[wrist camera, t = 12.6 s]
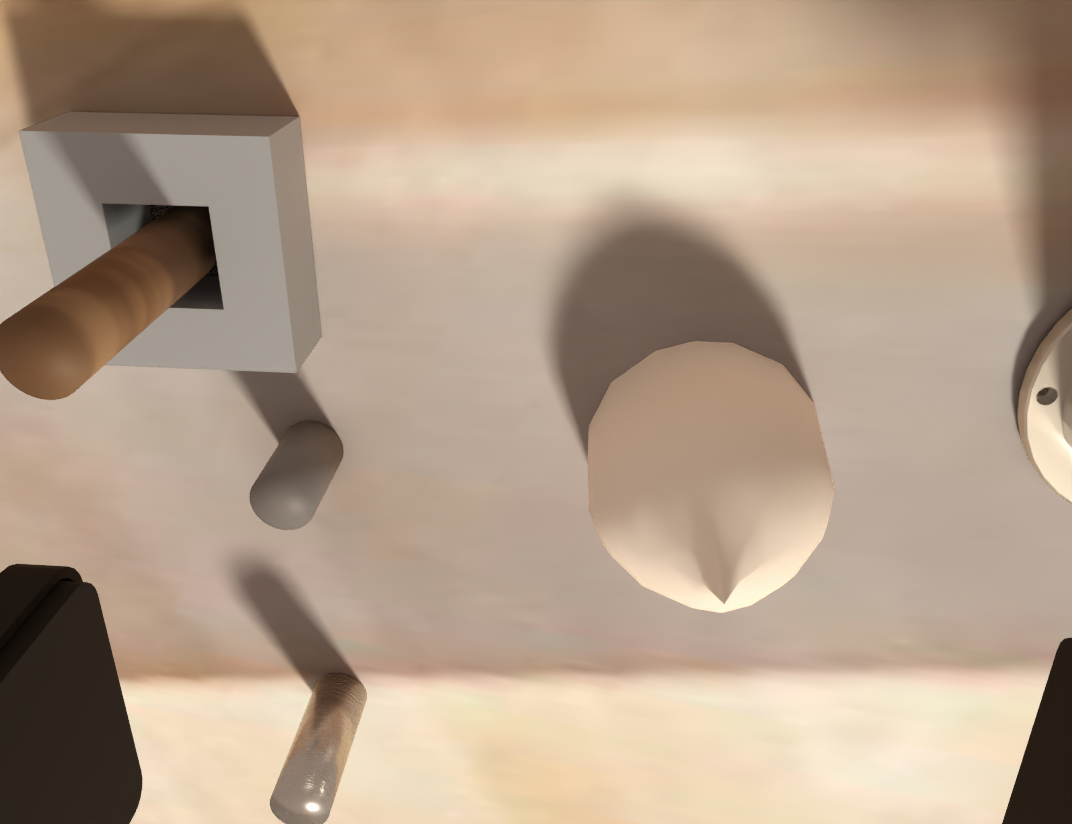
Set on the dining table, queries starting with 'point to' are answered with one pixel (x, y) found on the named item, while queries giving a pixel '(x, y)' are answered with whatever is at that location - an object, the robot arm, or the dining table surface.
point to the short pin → (297, 476)
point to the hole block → (189, 180)
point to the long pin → (105, 304)
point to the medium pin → (319, 751)
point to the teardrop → (708, 474)
